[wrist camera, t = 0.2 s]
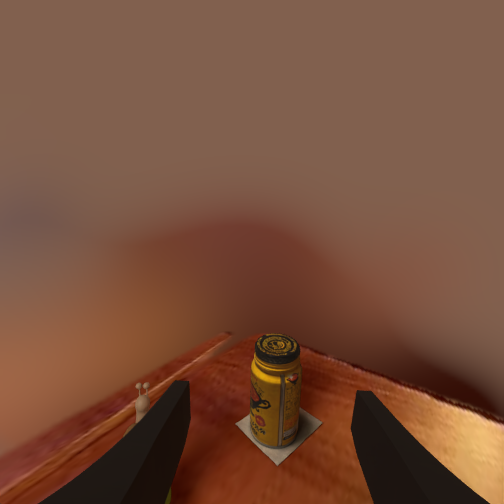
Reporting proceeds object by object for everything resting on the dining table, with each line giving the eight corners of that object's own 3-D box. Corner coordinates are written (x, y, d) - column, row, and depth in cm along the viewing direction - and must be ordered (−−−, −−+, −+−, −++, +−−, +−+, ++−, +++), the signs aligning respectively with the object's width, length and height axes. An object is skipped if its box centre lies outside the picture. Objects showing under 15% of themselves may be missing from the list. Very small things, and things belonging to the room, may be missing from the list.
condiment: (235, 424, 36) (236, 341, 33) (280, 393, 42) (284, 318, 39) (277, 467, 31) (282, 372, 28) (322, 424, 37) (331, 341, 34)
